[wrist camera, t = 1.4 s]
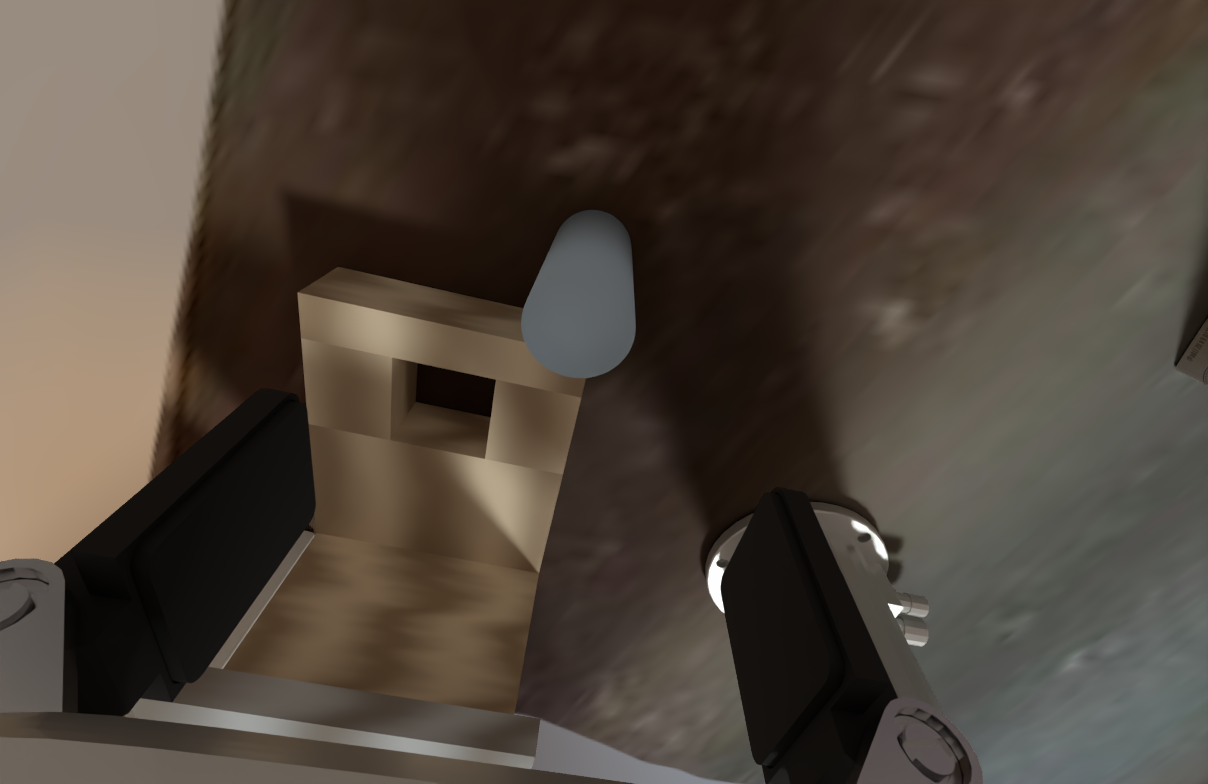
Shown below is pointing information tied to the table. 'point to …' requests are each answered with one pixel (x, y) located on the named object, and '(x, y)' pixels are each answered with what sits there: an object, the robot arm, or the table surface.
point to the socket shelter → (405, 536)
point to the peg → (583, 298)
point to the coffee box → (1196, 357)
